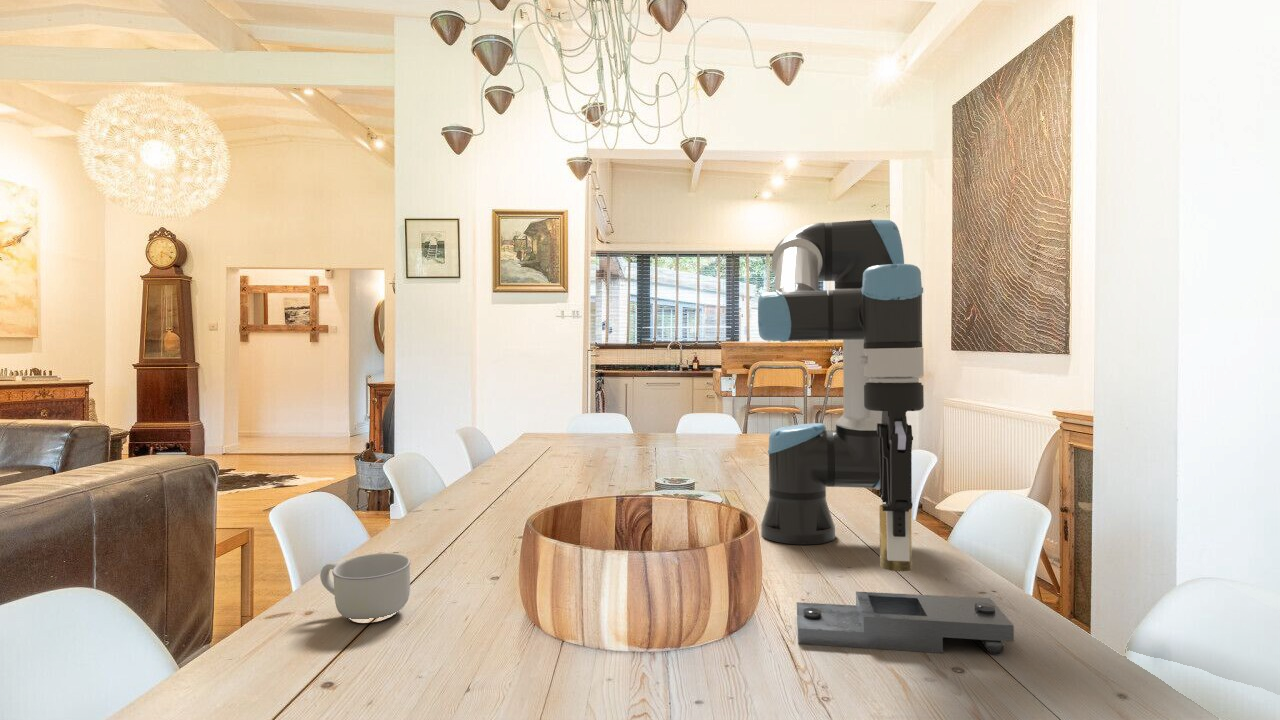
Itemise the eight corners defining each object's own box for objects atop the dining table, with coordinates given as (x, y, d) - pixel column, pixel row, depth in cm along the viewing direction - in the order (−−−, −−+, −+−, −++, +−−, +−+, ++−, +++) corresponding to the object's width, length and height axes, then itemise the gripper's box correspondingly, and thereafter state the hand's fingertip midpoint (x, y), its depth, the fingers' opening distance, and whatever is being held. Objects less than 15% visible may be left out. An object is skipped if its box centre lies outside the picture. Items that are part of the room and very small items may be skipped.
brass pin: (878, 562, 96) (877, 503, 96) (909, 563, 95) (908, 504, 96) (881, 570, 92) (881, 509, 92) (914, 572, 91) (913, 510, 92)
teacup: (426, 609, 106) (425, 557, 107) (371, 635, 97) (370, 577, 97) (358, 597, 112) (358, 547, 112) (300, 621, 103) (299, 566, 103)
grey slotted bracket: (796, 616, 102) (796, 584, 102) (990, 627, 96) (990, 593, 96) (798, 643, 92) (797, 608, 92) (1014, 657, 87) (1013, 620, 87)
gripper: (857, 379, 103) (860, 539, 103) (871, 382, 87) (874, 572, 87) (911, 379, 101) (914, 541, 101) (935, 382, 85) (938, 575, 85)
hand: (895, 555), depth 94 cm, fingers closed on brass pin, 3 cm apart
